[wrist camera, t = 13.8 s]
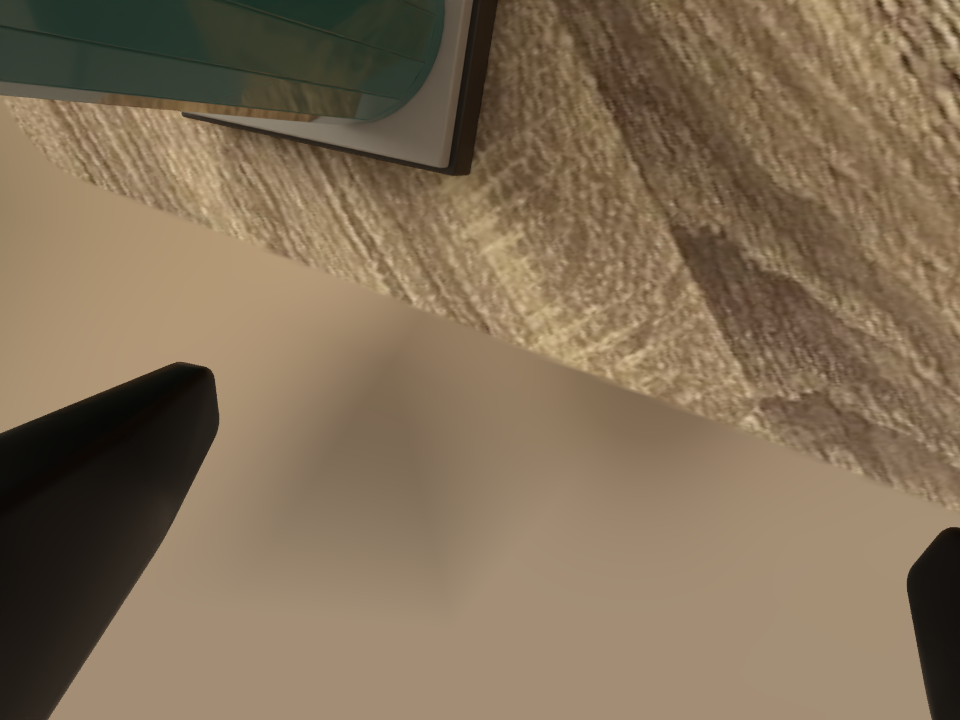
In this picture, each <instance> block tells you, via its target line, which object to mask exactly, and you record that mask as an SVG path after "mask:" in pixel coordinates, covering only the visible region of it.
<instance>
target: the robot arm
mask: <svg viewBox="0 0 960 720" xmlns="http://www.w3.org/2000/svg"><path fill="white" fill-rule="evenodd" d="M218 426H219V411H218V403H217V394H216V386H215V379H214V375H213V373H212V371H211V370H210V369H208V368H207V367H204V366H199V365H194V364H190V363H185V362H176V363H173V364H170V365H168V366H165V367H163V368H160V369H158V370H155V371H153V372H150V373H148V374H145V375H143V376H140V377H138V378H135V379H133V380H131V381H128V382H126V383H123V384H121V385H118V386H116V387H113V388H111V389H109V390H106V391H104V392H101V393H99V394H96V395H94V396H91V397H89V398H86V399H84V400H81V401H79V402H77V403H74V404H72V405H69V406H67V407H64V408H62V409H59V410H57V411H55V412H52V413H50V414H47V415H45V416H42V417H40V418H37V419H35V420H32V421H30V422H28V423H25V424H22V425H20V426H18V427H15V428H13V429H10V430H8V431H5V432H3V433H0V720H48V719H49V717H50V715H51V714H52V712H53V711H54V709H55V708H56V706H57V705H58V703H59V702H60V700H61V698H62V697H63V695H64V694H65V692H66V691H67V689H68V688H69V686H70V684H71V683H72V681H73V680H74V678H75V677H76V675H77V674H78V672H79V670H80V669H81V667H82V666H83V664H84V663H85V661H86V660H87V658H88V657H89V655H90V653H91V652H92V650H93V649H94V647H95V646H96V644H97V642H98V641H99V640H100V638H101V636H102V635H103V633H104V632H105V630H106V629H107V627H108V626H109V624H110V622H111V621H112V619H113V618H114V616H115V615H116V613H117V611H118V610H119V609H120V607H121V605H122V604H123V602H124V600H125V599H126V598H127V596H128V595H129V593H130V592H131V590H132V588H133V587H134V585H135V584H136V582H137V581H138V579H139V578H140V576H141V574H142V573H143V571H144V570H145V568H146V567H147V565H148V564H149V562H150V561H151V559H152V557H153V556H154V554H155V553H156V551H157V549H158V548H159V546H160V544H161V543H162V541H163V539H164V538H165V536H166V534H167V532H168V530H169V528H170V526H171V524H172V523H173V521H174V519H175V517H176V515H177V513H178V511H179V509H180V507H181V505H182V503H183V501H184V499H185V497H186V495H187V493H188V491H189V489H190V486H191V485H192V482H193V481H194V479H195V477H196V475H197V473H198V471H199V468H200V467H201V465H202V463H203V460H204V458H205V456H206V455H207V452H208V451H209V448H210V446H211V444H212V442H213V440H214V438H215V436H216V434H217V431H218ZM907 592H908V597H909V603H910V609H911V614H912V620H913V624H914V630H915V635H916V641H917V647H918V652H919V658H920V663H921V668H922V673H923V679H924V685H925V689H926V695H927V699H928V704H929V709H930V713H931V718H932V720H960V528H958V527H950V528H947V529H945V530H943V531H942V532H941V533H939V535H938V536H937V537H936V538H935V539H934V541H933V542H932V543H931V544H930V545H929V547H928V548H927V549H926V550H925V551H924V553H923V554H922V555H921V556H920V558H919V559H918V560H917V561H916V562H915V563H914V565H913V566H912V567H911V569H910V571H909V574H908V578H907Z"/></svg>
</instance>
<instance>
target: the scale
mask: <svg viewBox="0 0 960 720" xmlns="http://www.w3.org/2000/svg"><path fill="white" fill-rule="evenodd" d="M497 1H498V0H444V5H445V16H444V29H443V34H442V39H441V44H440V47H439V51H438V54H437V57H436V60H435V62H434V65H433V67H432V69H431V71H430V73H429V75H428V77H427V78H426V80H425V82H424V84H423V85H422V86H421V88H420V89H419V90H418V92H417V93H416V94H415V95H414V96H413V97H412V98H411V99H410V100H409V101H408V102H407V104H405V105H404V106H403V107H402V108H400V109H399V110H398V111H396V112H395V113H393V114H391V115H389V116H388V117H386V118H383V119H381V120H378V121H375V122H371V123H366V124H355V125H351V124H341V125H331V124H320V123H309V122H298V121H286V120H275V119H264V118H253V117H242V116H230V115H219V114H208V113H197V112H185V111H180V112H182V116H183V117H187V118H191V119H196V120H200V121H205V122H210V123H214V124H219V125H223V126H228V127H232V128H237V129H241V130H246V131H251V132H255V133H260V134H264V135H269V136H273V137H278V138H282V139H287V140H291V141H296V142H301V143H305V144H310V145H314V146H319V147H323V148H328V149H332V150H337V151H342V152H346V153H351V154H355V155H360V156H364V157H369V158H373V159H378V160H383V161H387V162H392V163H396V164H401V165H405V166H410V167H414V168H419V169H424V170H428V171H433V172H437V173H442V174H446V175H451V176H462V175H469V173H470V168H471V162H472V155H473V149H474V143H475V137H476V131H477V124H478V118H479V112H480V106H481V100H482V94H483V87H484V81H485V75H486V69H487V63H488V56H489V50H490V44H491V38H492V32H493V25H494V19H495V13H496V7H497Z"/></svg>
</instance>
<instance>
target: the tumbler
mask: <svg viewBox="0 0 960 720" xmlns="http://www.w3.org/2000/svg"><path fill="white" fill-rule="evenodd" d="M444 16H445V5H444V0H0V95H6V96H17V97H28V98H39V99H51V100H62V101H73V102H84V103H95V104H107V105H118V106H129V107H140V108H152V109H163V110H174V111H185V112H197V113H208V114H219V115H230V116H242V117H253V118H264V119H275V120H286V121H298V122H309V123H320V124H331V125H341V124H351V125H355V124H366V123H371V122H375V121H378V120H381V119H383V118H386V117H388V116H389V115H391V114H393V113H395V112H396V111H398V110H399V109H400V108H402V107H403V106H404V105H405V104H407V102H408V101H409V100H410V99H411V98H412V97H413V96H414V95H415V94H416V93H417V92H418V90H419V89H420V88H421V86H422V85H423V84H424V82H425V80H426V78H427V77H428V75H429V73H430V71H431V69H432V67H433V65H434V62H435V60H436V57H437V54H438V51H439V47H440V44H441V39H442V34H443V29H444Z"/></svg>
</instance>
